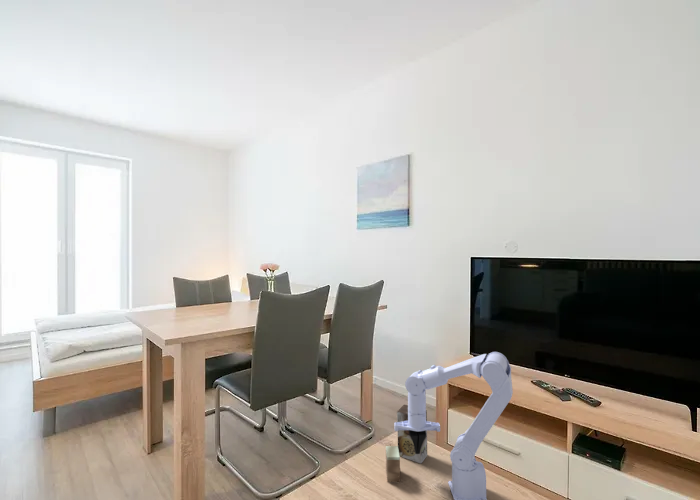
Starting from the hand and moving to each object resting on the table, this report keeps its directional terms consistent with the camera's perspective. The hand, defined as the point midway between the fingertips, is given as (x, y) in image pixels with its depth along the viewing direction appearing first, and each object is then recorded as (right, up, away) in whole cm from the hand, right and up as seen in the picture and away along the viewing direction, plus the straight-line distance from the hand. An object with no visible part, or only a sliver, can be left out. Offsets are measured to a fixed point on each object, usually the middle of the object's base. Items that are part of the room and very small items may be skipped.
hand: (417, 452), depth 111 cm
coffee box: (+1, -8, +11) cm, 14 cm away
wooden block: (-8, -8, 0) cm, 11 cm away
